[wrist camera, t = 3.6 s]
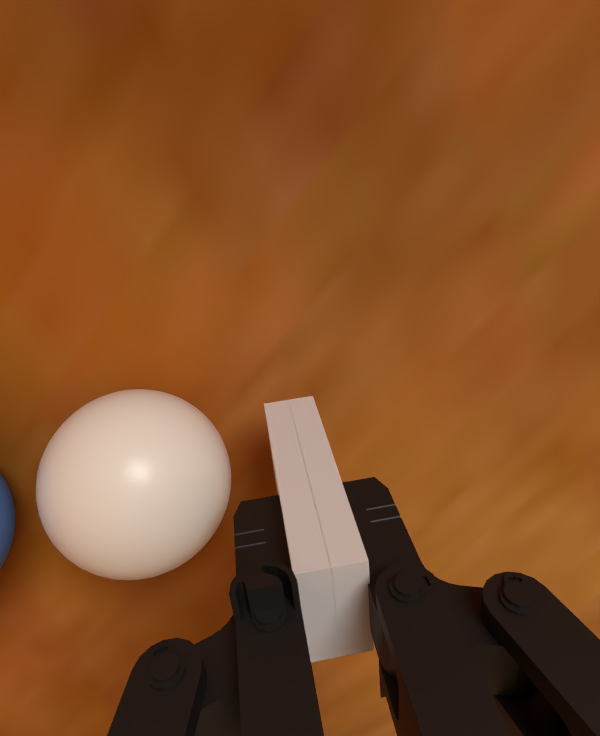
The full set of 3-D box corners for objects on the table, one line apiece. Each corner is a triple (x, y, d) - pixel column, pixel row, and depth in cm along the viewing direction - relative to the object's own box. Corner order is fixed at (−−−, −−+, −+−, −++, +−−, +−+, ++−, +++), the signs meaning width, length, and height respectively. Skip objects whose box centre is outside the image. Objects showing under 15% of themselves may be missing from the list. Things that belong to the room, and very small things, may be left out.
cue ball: (138, 661, 14) (39, 561, 17) (278, 528, 17) (173, 466, 21) (73, 507, 11) (-31, 424, 14) (254, 386, 15) (137, 341, 18)
